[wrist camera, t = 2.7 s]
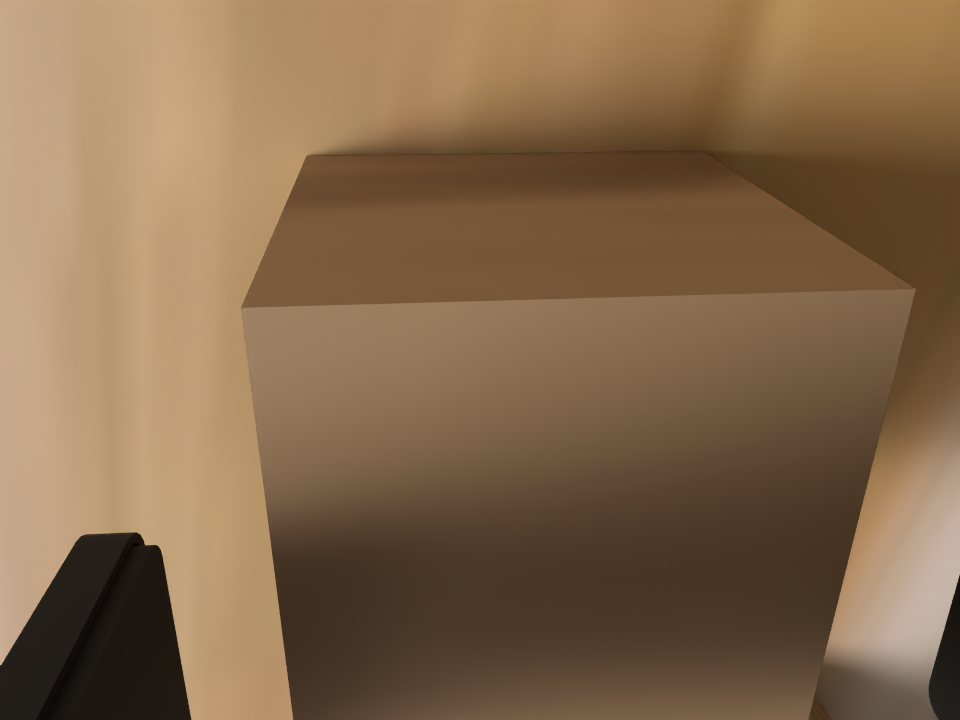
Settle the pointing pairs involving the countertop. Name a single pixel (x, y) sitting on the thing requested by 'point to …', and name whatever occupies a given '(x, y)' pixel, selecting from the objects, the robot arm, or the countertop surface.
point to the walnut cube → (561, 435)
